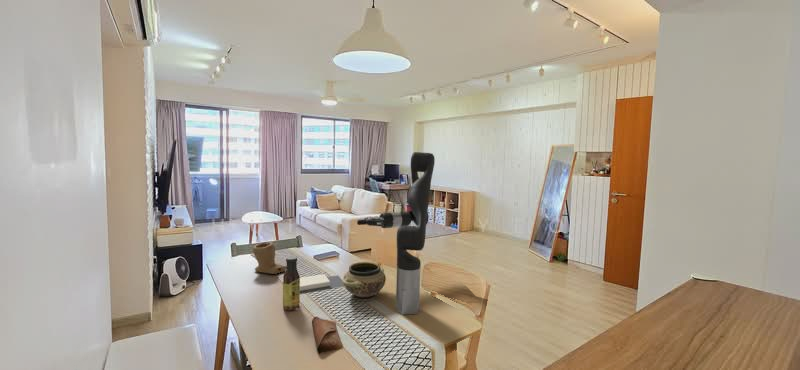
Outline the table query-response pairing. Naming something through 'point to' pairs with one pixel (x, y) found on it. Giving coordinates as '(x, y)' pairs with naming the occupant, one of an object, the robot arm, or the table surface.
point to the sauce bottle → (291, 285)
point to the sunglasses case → (326, 335)
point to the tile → (314, 282)
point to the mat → (334, 283)
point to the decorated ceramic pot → (364, 280)
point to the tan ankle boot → (267, 258)
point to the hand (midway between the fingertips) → (357, 222)
